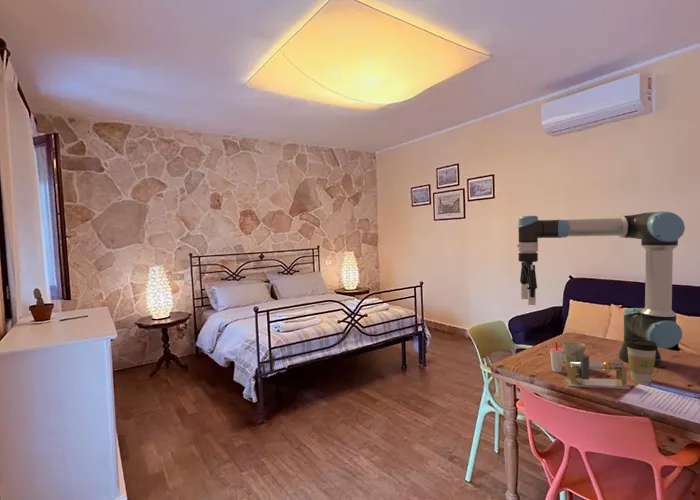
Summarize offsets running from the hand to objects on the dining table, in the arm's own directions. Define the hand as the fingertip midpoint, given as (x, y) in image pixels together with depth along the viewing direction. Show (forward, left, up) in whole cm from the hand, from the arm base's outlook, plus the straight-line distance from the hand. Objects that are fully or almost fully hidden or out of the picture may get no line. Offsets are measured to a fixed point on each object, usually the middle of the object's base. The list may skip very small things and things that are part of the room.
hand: (528, 301), depth 172 cm
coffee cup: (-38, +12, -28) cm, 49 cm away
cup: (-10, +5, -28) cm, 30 cm away
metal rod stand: (-20, +18, -28) cm, 39 cm away
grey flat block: (-15, +18, -25) cm, 34 cm away
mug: (-16, 0, -28) cm, 32 cm away
